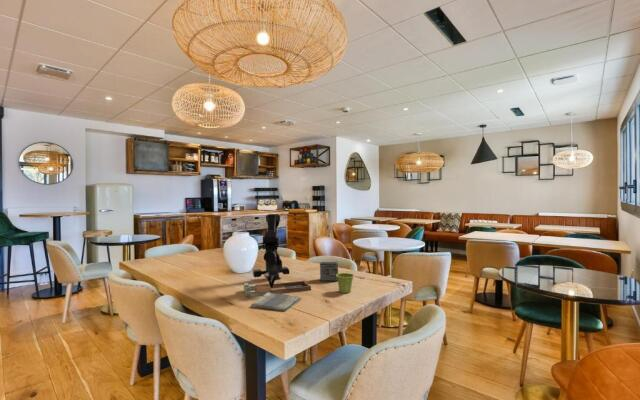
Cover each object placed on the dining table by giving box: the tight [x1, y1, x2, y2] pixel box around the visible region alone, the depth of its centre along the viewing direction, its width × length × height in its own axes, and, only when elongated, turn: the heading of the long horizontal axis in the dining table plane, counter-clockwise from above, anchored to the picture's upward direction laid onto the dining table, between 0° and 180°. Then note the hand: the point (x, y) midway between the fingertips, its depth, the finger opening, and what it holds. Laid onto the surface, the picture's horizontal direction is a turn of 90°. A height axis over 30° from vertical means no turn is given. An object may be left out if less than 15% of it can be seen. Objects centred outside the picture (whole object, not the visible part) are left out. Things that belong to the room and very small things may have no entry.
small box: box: [319, 261, 339, 283], centre depth 189 cm, size 11×6×10 cm, turn 84°
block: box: [254, 283, 272, 292], centre depth 166 cm, size 7×7×4 cm
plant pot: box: [336, 272, 355, 294], centre depth 166 cm, size 9×9×9 cm
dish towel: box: [250, 292, 302, 313], centre depth 150 cm, size 19×18×3 cm
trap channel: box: [243, 280, 312, 298], centre depth 170 cm, size 12×34×4 cm, turn 109°
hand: (271, 288), depth 169 cm, fingers closed
